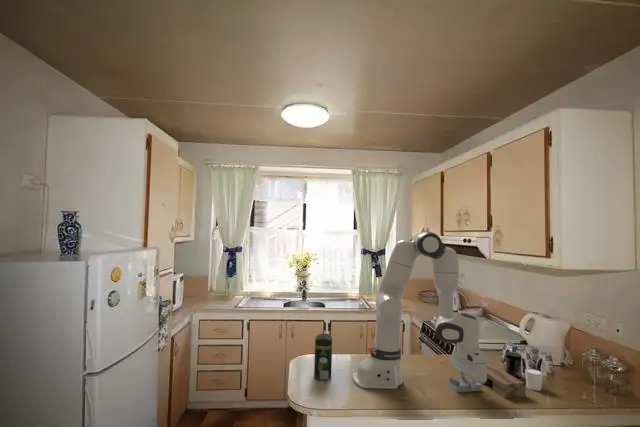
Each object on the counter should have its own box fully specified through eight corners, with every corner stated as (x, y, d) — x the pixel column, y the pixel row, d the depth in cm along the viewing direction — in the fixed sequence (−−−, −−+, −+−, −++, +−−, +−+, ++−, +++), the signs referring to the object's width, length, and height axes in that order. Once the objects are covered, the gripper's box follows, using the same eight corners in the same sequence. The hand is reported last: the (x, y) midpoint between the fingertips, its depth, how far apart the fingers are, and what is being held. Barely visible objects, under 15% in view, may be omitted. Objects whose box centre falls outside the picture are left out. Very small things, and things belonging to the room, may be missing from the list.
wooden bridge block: (504, 398, 143) (504, 384, 144) (473, 377, 163) (473, 365, 163) (525, 396, 146) (525, 383, 146) (491, 376, 165) (492, 364, 165)
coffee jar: (314, 371, 163) (316, 331, 164) (331, 373, 163) (332, 332, 164) (312, 380, 154) (314, 337, 155) (330, 381, 153) (332, 338, 154)
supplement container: (515, 380, 162) (515, 357, 162) (502, 374, 168) (502, 352, 169) (524, 378, 165) (525, 355, 165) (511, 372, 171) (511, 351, 171)
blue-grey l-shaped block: (456, 392, 147) (456, 382, 147) (449, 387, 152) (449, 377, 152) (481, 390, 150) (481, 380, 150) (474, 385, 155) (474, 375, 155)
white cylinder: (543, 387, 156) (543, 371, 156) (542, 392, 150) (542, 376, 150) (525, 382, 159) (525, 367, 160) (524, 388, 154) (524, 371, 154)
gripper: (448, 344, 161) (447, 375, 161) (476, 360, 141) (476, 395, 141) (460, 344, 163) (459, 374, 162) (490, 360, 143) (490, 394, 142)
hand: (467, 384), depth 151 cm, fingers closed on blue-grey l-shaped block, 5 cm apart
